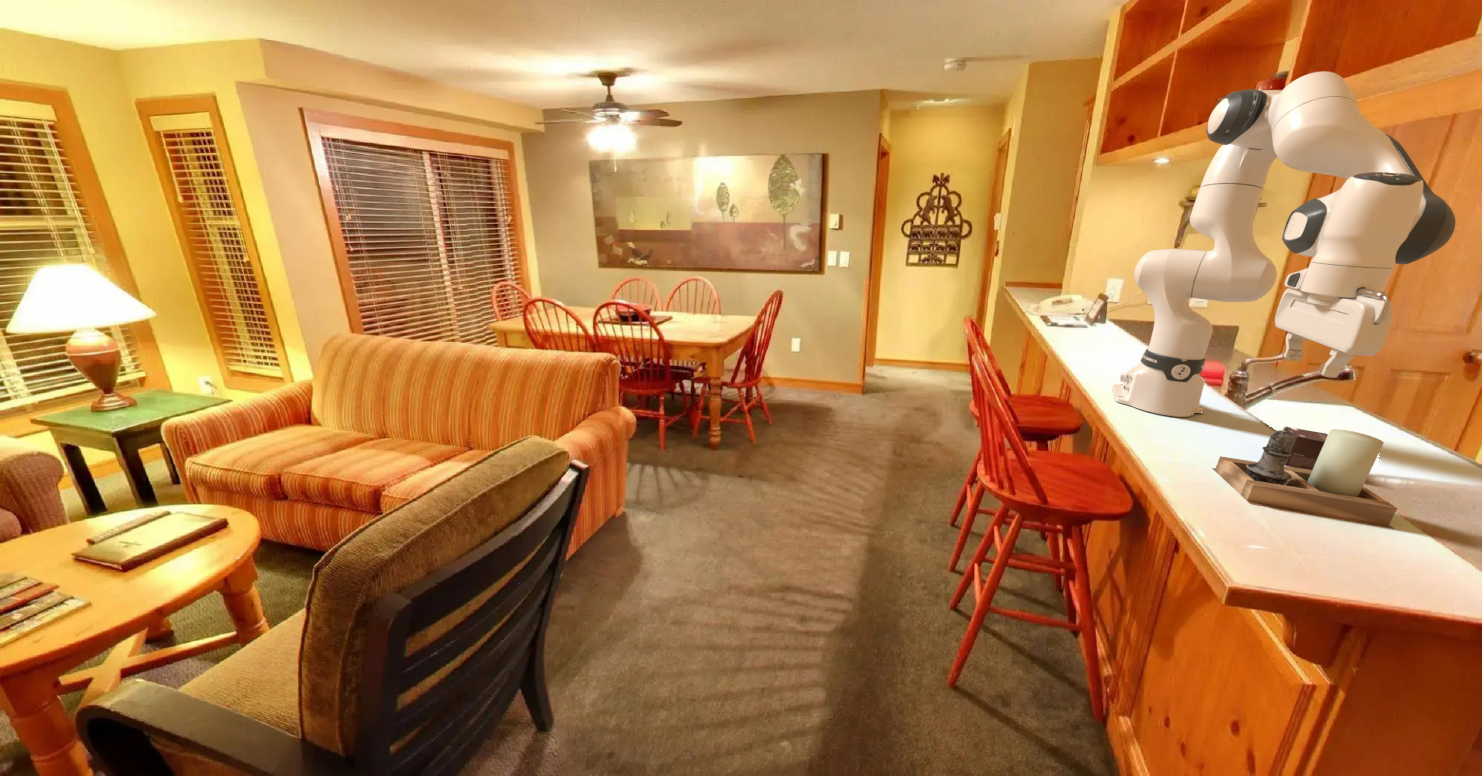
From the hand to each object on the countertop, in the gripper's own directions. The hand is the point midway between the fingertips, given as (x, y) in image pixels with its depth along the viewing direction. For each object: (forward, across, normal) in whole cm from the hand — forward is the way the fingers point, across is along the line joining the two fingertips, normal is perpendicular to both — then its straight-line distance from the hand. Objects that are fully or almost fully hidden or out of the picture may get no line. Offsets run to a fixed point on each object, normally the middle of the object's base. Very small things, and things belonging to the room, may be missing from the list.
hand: (1308, 367), depth 88 cm
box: (+24, +15, -13) cm, 31 cm away
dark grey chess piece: (+22, -2, +1) cm, 22 cm away
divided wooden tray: (+23, -2, -4) cm, 24 cm away
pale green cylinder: (+22, -2, -8) cm, 24 cm away
